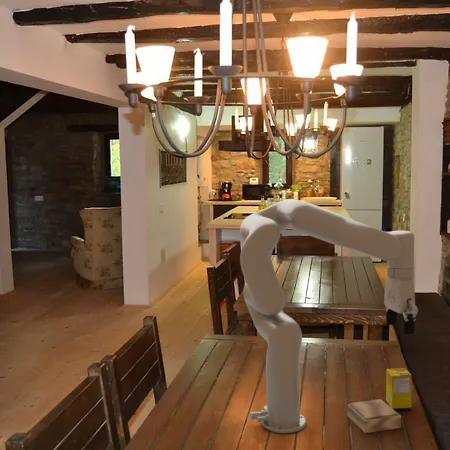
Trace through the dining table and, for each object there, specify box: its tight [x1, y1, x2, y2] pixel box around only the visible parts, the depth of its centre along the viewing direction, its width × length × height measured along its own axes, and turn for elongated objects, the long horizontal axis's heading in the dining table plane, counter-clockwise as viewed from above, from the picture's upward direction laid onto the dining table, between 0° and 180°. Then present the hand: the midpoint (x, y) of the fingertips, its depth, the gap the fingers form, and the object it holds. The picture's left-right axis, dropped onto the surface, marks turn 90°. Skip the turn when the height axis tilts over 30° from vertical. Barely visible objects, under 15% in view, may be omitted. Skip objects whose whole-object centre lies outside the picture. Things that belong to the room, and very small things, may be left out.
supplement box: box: [385, 367, 413, 411], centre depth 169 cm, size 6×6×11 cm
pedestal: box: [346, 398, 402, 434], centre depth 160 cm, size 11×11×4 cm
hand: (399, 329), depth 167 cm, fingers open, 9 cm apart
